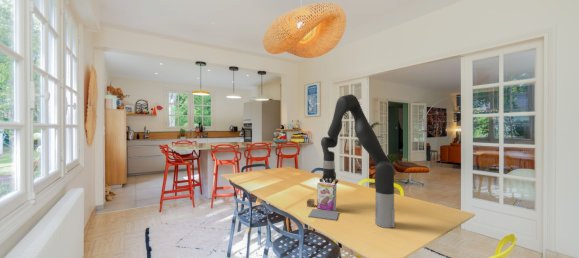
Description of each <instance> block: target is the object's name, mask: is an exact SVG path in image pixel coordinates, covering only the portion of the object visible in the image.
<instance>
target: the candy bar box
mask: <svg viewBox="0 0 579 258" xmlns="http://www.w3.org/2000/svg"><path fill="white" fill-rule="evenodd" d="M316 192H317V193H316V194H317V199H316V200H317V201H316V207H317V208H316V209H319V210H328V211H337V184H334V183H333V182H332V183H326V182H325V181H324V182H320V181H319V182H317V191H316Z"/></svg>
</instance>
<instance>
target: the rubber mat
mask: <svg viewBox="0 0 579 258" xmlns="http://www.w3.org/2000/svg"><path fill="white" fill-rule="evenodd" d="M339 214H340V211H337V210H335V211H328V210H322V209H318V208H312V210H311V211H310V213H309V214H308V218H313V219H314V218H315V219H321V220H329V221H337V220H338V217H339Z"/></svg>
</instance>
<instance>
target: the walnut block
mask: <svg viewBox="0 0 579 258" xmlns="http://www.w3.org/2000/svg"><path fill="white" fill-rule="evenodd" d="M314 206H315V199H314V198H313V199H312V198H308V199H307V200H306V207H308V208H314Z"/></svg>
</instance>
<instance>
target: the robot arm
mask: <svg viewBox="0 0 579 258" xmlns="http://www.w3.org/2000/svg"><path fill="white" fill-rule="evenodd" d="M358 99H359V98H357V96H355V95H354V94H351V93H350V94H345V95H343V96H339V98H338V99H337V101H336V103H335V109H334V113H333V118H332V120H331V123H330V126H329V127H328V131H327V135H328V136H324V137H322V138H321V140H320V145H321V149H322V152H323V164H322V165H323V166H322V167H323V168H322V169H323V172H322V175H323V176H322V177H321V178H319V182H326V183H332V184H336V185H337V184H338V182H339V181H340V180H339V179H337V178H336V175H335V174H336V169H335V168H336V163H335V152H334V151H331V150H330V149H331V148H332V149H333V148H336V147H337V146H338V143H339V142H338V141H339V135H340V133H341V131H342V129H343V117H344V116H345V114H346V113H347V112H350V113H351V115H352V117H353V120H354V131H355V132H354V134H355V136H356V137H357V139H358V141H359V143H360V144H361V146H362V147H363V149H364V150H365V151H366V152H367V153H368V154H369V157H371V159H372V161H373V163H374V166H375V169H374V188H375V207H374V208H375V210H374V212H375V213H374V215H375V217H374V218H375V219H374V220H375V225H376V226H379V227H382V228H385V229H386V228H387V229H389V228H395V212H396V210H395V185H394V184H395V171H396V168H395V166H394V165H393V162H391V161H390V159H389V158H388V156H387V154H386V153H385V151H384V150H383V147H382V145H381V143H380V141H379V139H378V137H377V134H376V133H375V131H374V130H373V127H372V125H370V122H369V120H368V118H367V117H366V116H365V115H366V114H365V113H364V111H363V109H362V106H361V104H360V102H359V100H358Z"/></svg>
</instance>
